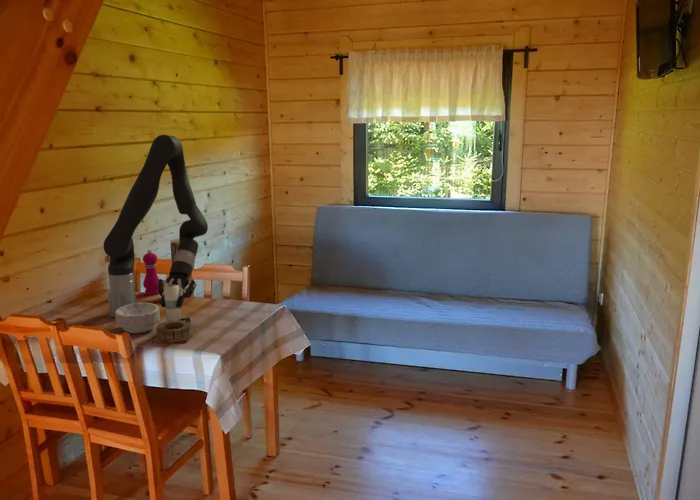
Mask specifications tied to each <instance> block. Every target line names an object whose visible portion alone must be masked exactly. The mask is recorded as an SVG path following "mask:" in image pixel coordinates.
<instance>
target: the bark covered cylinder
mask: <svg viewBox="0 0 700 500" xmlns="http://www.w3.org/2000/svg"><path fill="white" fill-rule="evenodd" d="M169 243H170V259H171V264H172V263H173V260H174V257H175V255H176V252H177V249H178V246H179V238H176V239H171V240H170V242H169ZM188 286H189V284H188V285H187V286H186V287H185V292H186V290H187V288H188ZM179 296H180V294H179Z"/></svg>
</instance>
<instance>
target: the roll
mask: <svg viewBox="0 0 700 500" xmlns="http://www.w3.org/2000/svg"><path fill="white" fill-rule="evenodd" d="M164 296H165V317H166V318H165V320H166V322H167V321H178V320H181V319H182V315H181V314H182V313H181V307H180V308H177V307H176V304H177V300H178V297H179V285H174V284H173V285H168V284H166V285H165V286H164Z"/></svg>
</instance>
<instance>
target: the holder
mask: <svg viewBox="0 0 700 500" xmlns="http://www.w3.org/2000/svg"><path fill="white" fill-rule="evenodd" d="M178 325H179V326H182V327H181V328H178V329H175V328H176V326H178ZM191 325H192V324H191V323H190V322H189V321H186V320H183V319H182V320H181V319H180V320H178V321H167V320H166V321H163V322H161V323H159V324H157V325H156V329H155V330H156V335H155V336H154V337H153V338H152V339H151V343H152V342H163V343H166V344H167V343H171V344H175V343H174V342H180V343H179V344H181V343H183V344H184V343H186V344H187V343H188V342H189V340H190V339H191V337H192V335H194V332H195V331H196V328H195V327H191Z"/></svg>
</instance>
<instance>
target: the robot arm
mask: <svg viewBox="0 0 700 500" xmlns="http://www.w3.org/2000/svg"><path fill="white" fill-rule="evenodd" d="M184 155H185V154H184V149H183V144H182V142H181V140H180V139H179V138H178V137H176V136H174V135H168V134H160V135H158V136H156V137H155V138H154V140H153V141H152V144H151V146H150V148H149V151H148V154H147V157H146V159H145V162H144V164H143V166H142V168H141V170H140V171H139V174H138V175H137V178H136V180H135V182H134V183H133V185H132V186H131V188H130V190H129V193H128V195H127V197H126V200H125V201H124V204H123V206H122V208H121V211H120V213H119V215H118V217H117V220H116V222H115V224H114V225H113V227H112V228H111V230H110V231H109V233H108V235H107V236H106V237H105V239H104V241H103V251H104V253H105V254H106V255H107V256H108V257H109V263H108V266H107V274H108V282H109V283H108V286H109V292H108V293H107V294H108V295H107V296H108V297H107V299H108V309H109V318H115V319H116V315H115V311H116V310H117V309H118V308H120V307H122V306H125V305H129V304H134V303H137V296H136V285H135V284H136V283H135V272H134V266H135V247H134V244H135V243H134V239H133V238H132V237H133V235H134V233H135V232H136V229H137V228H138V226H139V225H140V224H141V223H142V221H143V220H144V218H145V217H146V216H147V215H148V213H149V212H150V210H151V208H152V207H153V204H154V202H155V200H156V199H157V197H158V193H159V188H160V183H161V177H162V174H163V173H164V170H165V169H166V167H168V168H169V172H170V176H171V184H172V185H171V186H172V188H171V189H172V195H173V198H174V201H175V204H176V207H177V210H178V213H179V214H180V215H187V216H188V218H189V219H188V220H185V221H183V222H182V223H181V225H180V227H179V231H178V232H179V236H178V237H179V238H178V239H179V246H178V249H177V252H176V255H175V257H174V260H173V263H172V262H171V267H170V270H169V271H168V272H169V273H168V277H167V278H166V279H162V278H159V282H158V294H157V295H159V296H160V297H161V299H160V301H159V305H160V306H161V308H165V296H164V286H166V285H173V284H174V285H179V294H180V296H179V297H178V300H177V304H176V307H177V308H180V309H181V308H182V306H183V305H184V304H183V303H184V301H185V299H187V298H188V299H191V297H192V294H193V292H194V291H195V289H196V287H197V285H198V284H197V283H196V281H195V280H190V279H191V276H192V273H193V270H194V267H195V263H196V257H197V255H198V253H197V252H198V250H199V243H198V242H197V240H195V238H198V237H202V236H204V235H206V233H207V232H208V228H209V227H208V226H209V225H208V222H207V220H206V217H204V215H203V213H202V211H201V210H200V208H199V207H198V205H197V202H196V199H195V196H194V193H193V190H192V186H191V183H190V179H189V176H188V171H187V167H186V162H185V156H184ZM188 284H189V286H188V288H187V290H186V292H185V287H186V286H187V285H188Z"/></svg>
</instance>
